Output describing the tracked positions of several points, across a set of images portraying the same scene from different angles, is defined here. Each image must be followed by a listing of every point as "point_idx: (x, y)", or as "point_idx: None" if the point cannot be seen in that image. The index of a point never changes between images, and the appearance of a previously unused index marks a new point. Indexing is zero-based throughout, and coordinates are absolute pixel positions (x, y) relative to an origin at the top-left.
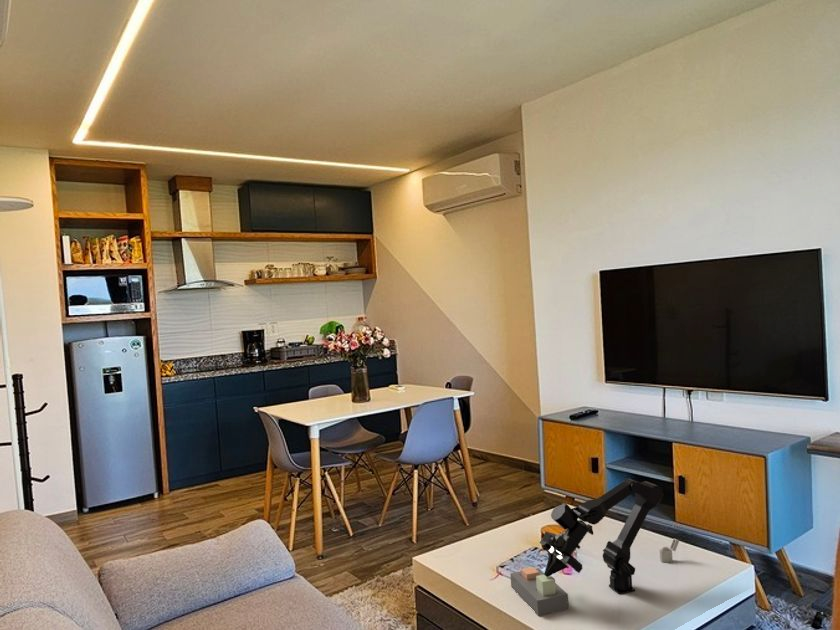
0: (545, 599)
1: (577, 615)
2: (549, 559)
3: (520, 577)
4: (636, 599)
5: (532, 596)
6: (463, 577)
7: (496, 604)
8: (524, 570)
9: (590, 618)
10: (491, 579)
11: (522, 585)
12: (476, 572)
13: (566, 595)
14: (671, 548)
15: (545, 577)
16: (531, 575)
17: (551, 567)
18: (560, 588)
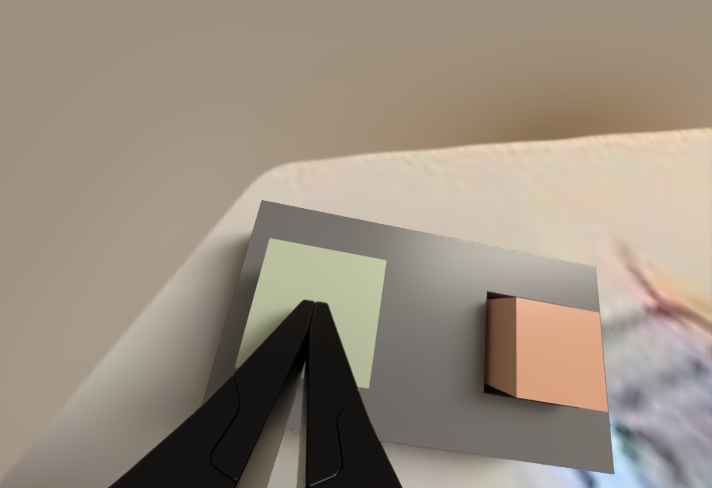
0: (248, 248)
1: (164, 386)
2: (357, 485)
3: (533, 284)
4: None
5: (321, 213)
6: (662, 173)
7: (436, 155)
8: (573, 319)
9: (93, 430)
10: (622, 249)
11: (446, 237)
12: (691, 233)
13: (205, 398)
14: None
15: None
16: (506, 331)
17: (231, 381)
18: (295, 420)
